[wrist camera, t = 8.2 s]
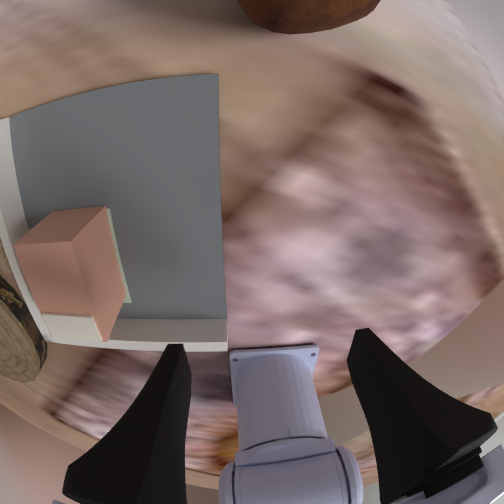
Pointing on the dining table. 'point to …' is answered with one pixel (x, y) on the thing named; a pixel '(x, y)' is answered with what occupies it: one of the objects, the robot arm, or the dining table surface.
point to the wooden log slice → (19, 337)
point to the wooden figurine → (305, 14)
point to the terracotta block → (74, 273)
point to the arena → (130, 201)
